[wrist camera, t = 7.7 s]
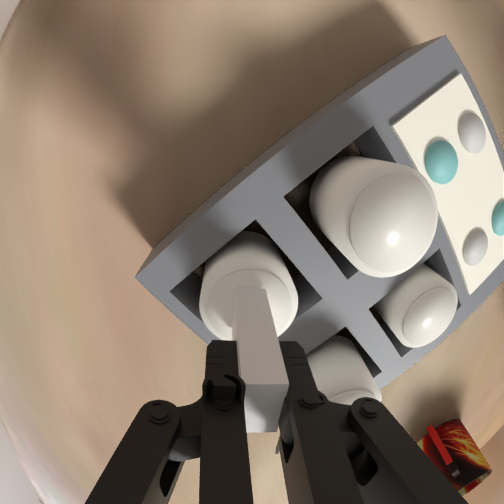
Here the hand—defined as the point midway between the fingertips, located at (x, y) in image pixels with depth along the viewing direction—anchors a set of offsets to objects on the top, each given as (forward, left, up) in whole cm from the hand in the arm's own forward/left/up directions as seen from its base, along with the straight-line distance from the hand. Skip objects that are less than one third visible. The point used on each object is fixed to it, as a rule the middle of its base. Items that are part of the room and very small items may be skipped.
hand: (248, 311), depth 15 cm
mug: (-2, +43, -7) cm, 43 cm away
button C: (-8, 0, -3) cm, 9 cm away
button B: (0, +9, -3) cm, 10 cm away
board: (-8, +5, -6) cm, 11 cm away
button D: (0, 0, -6) cm, 6 cm away
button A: (-8, +9, -6) cm, 13 cm away
